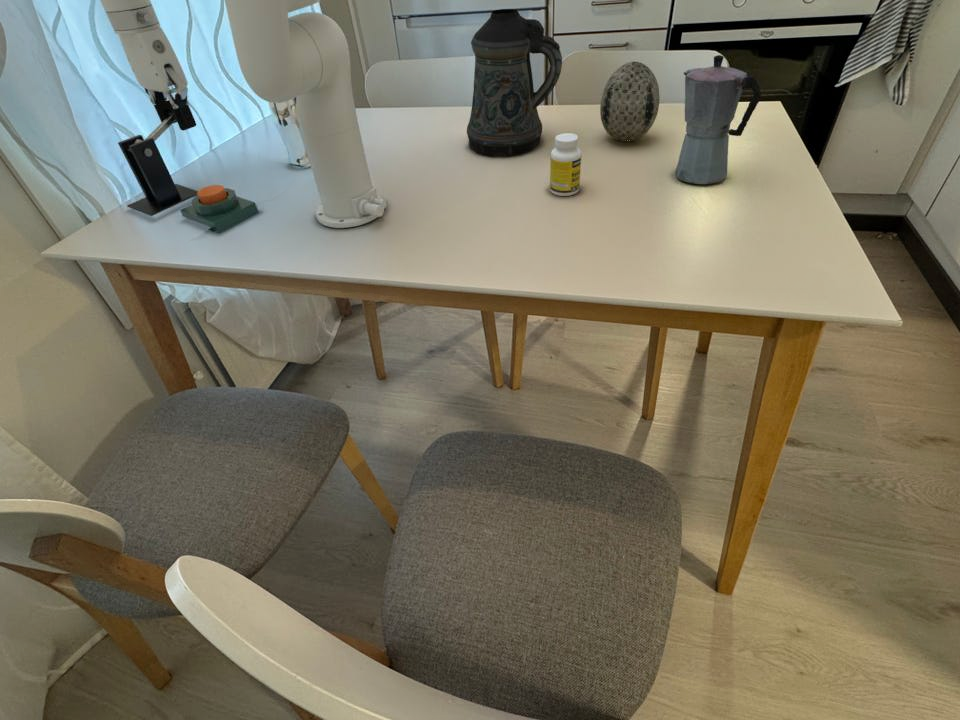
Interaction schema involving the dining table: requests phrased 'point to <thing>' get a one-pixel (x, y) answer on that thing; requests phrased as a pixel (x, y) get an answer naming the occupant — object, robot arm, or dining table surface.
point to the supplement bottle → (565, 165)
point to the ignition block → (221, 212)
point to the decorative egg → (630, 102)
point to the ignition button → (212, 194)
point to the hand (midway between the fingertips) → (179, 125)
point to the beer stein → (509, 84)
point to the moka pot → (712, 120)
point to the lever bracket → (152, 177)
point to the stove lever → (160, 127)
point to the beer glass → (290, 131)
